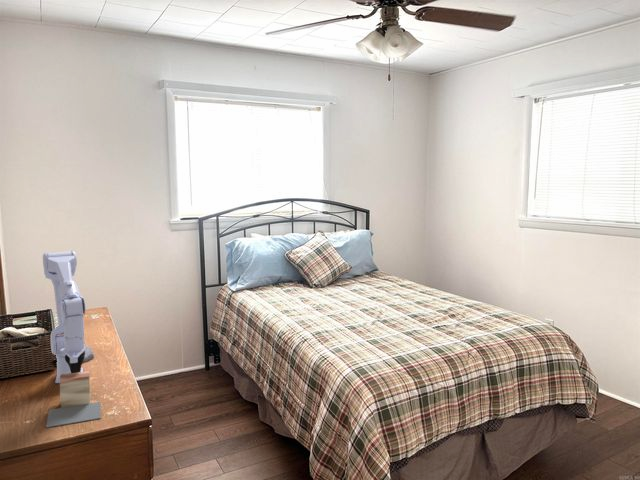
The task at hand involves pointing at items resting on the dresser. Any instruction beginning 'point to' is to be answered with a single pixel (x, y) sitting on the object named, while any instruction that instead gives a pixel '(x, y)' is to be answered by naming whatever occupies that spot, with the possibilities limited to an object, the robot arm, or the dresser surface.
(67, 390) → the birch block
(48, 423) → the mat
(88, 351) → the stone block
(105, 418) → the dresser surface
